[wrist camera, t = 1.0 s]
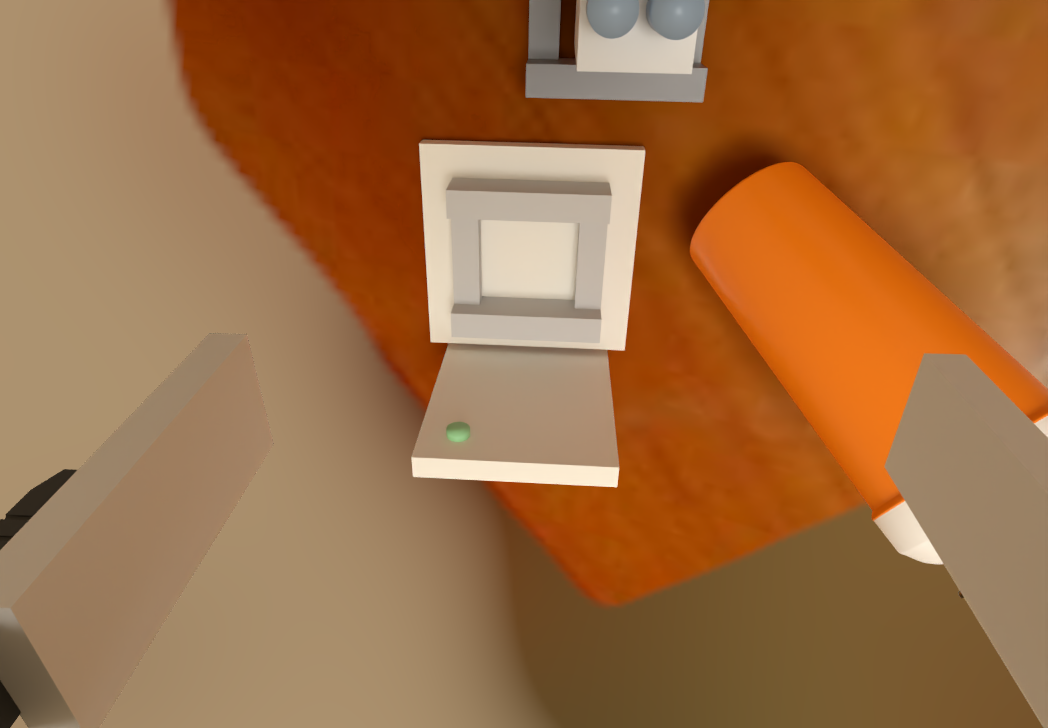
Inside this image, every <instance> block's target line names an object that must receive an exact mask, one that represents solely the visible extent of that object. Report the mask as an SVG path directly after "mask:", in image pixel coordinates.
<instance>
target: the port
mask: <svg viewBox="0 0 1048 728" xmlns="http://www.w3.org/2000/svg"><path fill="white" fill-rule="evenodd" d="M419 152H420V169H421V186H422V203H423V220H424V237H425V254H426V271H427V288H428V305H429V322H430V339H431V342H439V343H449V344H448V347H447V350H446V353H445V356H444V359H443V362H442V365H441V368H440V371H439V374H438V377H437V380H436V384H435V387H434V390H433V393H432V396H431V399H430V402H429V405H428V408H427V411H426V414H425V417H424V420H423V423H422V426H421V429H420V433H419V436H418V439H417V442H416V445H415V448H414V451H413V454H412V470H413V477H429V478H448V479H467V480H487V481H507V482H526V483H546V484H566V485H586V486H605V487H617V483H618V474H619V461H618V451H617V441H616V431H615V422H614V412H613V402H612V392H611V383H610V373H609V363H608V353H607V350H625V341H626V332H627V322H628V312H629V303H630V293H631V284H632V274H633V265H634V255H635V245H636V236H637V226H638V217H639V207H640V197H641V188H642V178H643V169H644V159H645V148H644V146H620V145H587V144H554V143H520V142H487V141H454V140H422V141H421V142H420V143H419Z"/></svg>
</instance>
